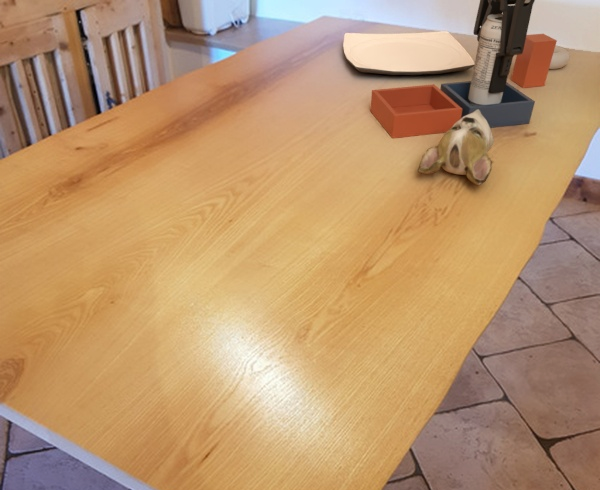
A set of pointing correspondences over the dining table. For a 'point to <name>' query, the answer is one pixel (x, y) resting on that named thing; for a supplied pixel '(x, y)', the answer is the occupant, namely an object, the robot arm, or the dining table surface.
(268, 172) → the dining table surface
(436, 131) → the clay bin
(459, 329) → the dining table surface
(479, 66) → the energy drink can
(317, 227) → the dining table surface
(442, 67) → the plate
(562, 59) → the donut
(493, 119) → the slate bin
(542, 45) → the terracotta block
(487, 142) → the ceramic sculpture
